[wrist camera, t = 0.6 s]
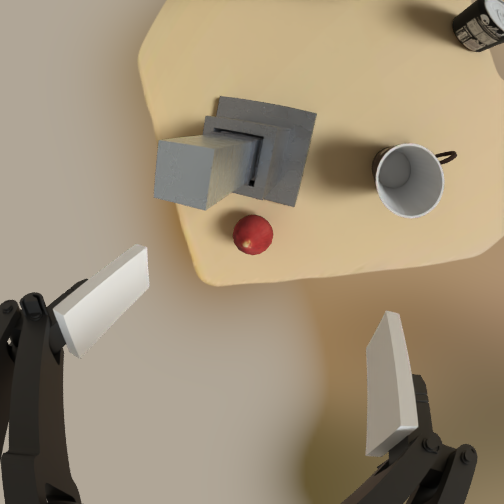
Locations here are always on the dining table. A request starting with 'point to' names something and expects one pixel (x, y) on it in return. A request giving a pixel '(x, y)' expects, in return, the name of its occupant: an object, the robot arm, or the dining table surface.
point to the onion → (252, 234)
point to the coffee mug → (409, 178)
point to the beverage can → (481, 25)
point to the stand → (269, 144)
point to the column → (205, 167)
